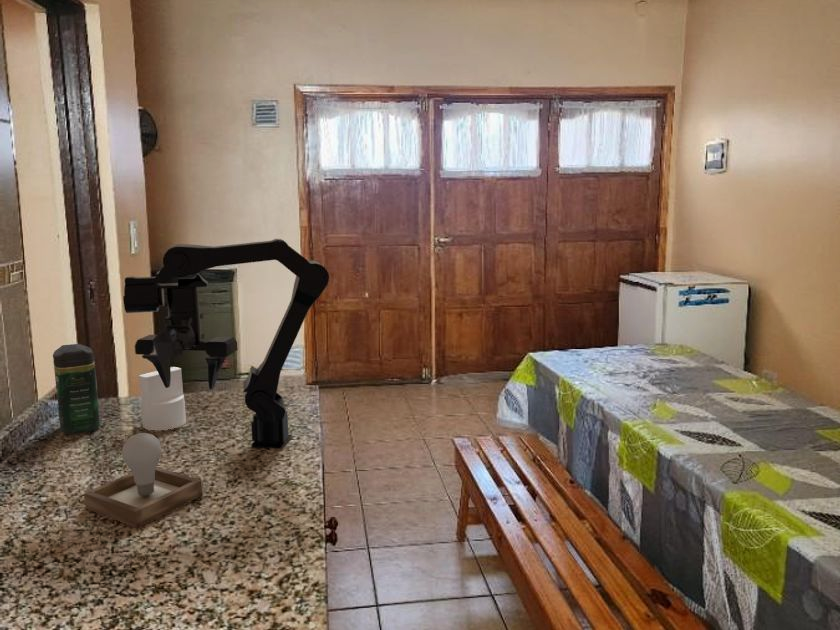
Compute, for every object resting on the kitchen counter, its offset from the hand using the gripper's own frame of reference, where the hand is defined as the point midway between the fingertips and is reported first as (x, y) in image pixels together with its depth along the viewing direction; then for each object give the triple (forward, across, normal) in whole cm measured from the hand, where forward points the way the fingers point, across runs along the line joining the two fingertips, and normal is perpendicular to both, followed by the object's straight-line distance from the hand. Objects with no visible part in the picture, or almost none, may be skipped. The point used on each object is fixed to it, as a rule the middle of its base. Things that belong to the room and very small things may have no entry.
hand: (189, 388), depth 134 cm
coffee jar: (+13, -31, +9) cm, 35 cm away
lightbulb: (+12, +3, -22) cm, 26 cm away
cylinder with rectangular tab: (+13, -14, +14) cm, 24 cm away
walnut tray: (+13, +2, -22) cm, 26 cm away
